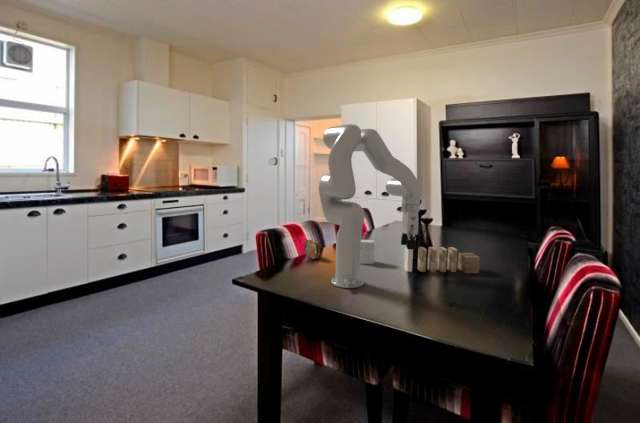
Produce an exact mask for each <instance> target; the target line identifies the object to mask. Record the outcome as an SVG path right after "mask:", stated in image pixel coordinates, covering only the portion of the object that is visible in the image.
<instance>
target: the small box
mask: <svg viewBox="0 0 640 423" xmlns="http://www.w3.org/2000/svg"><path fill="white" fill-rule="evenodd" d="M360 265H375V240H374V239H361V259H360Z"/></svg>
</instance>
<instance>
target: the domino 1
mask: <svg viewBox="0 0 640 423" xmlns="http://www.w3.org/2000/svg"><path fill="white" fill-rule="evenodd" d="M413 255H414V249H407V246H404V261H403V262H404V263H403V264H404V265H403V267H404V268H403V269H404V270H405V271H406V272H407V273H412V272H413Z"/></svg>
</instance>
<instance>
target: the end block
mask: <svg viewBox="0 0 640 423" xmlns="http://www.w3.org/2000/svg"><path fill="white" fill-rule="evenodd" d="M480 260H481V258H480V256H478V255H476V254H475V253H472V252H458V253H457V269H458V268H459V270H460V271H462V272H463V273H465V274H479V273H480Z"/></svg>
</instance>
